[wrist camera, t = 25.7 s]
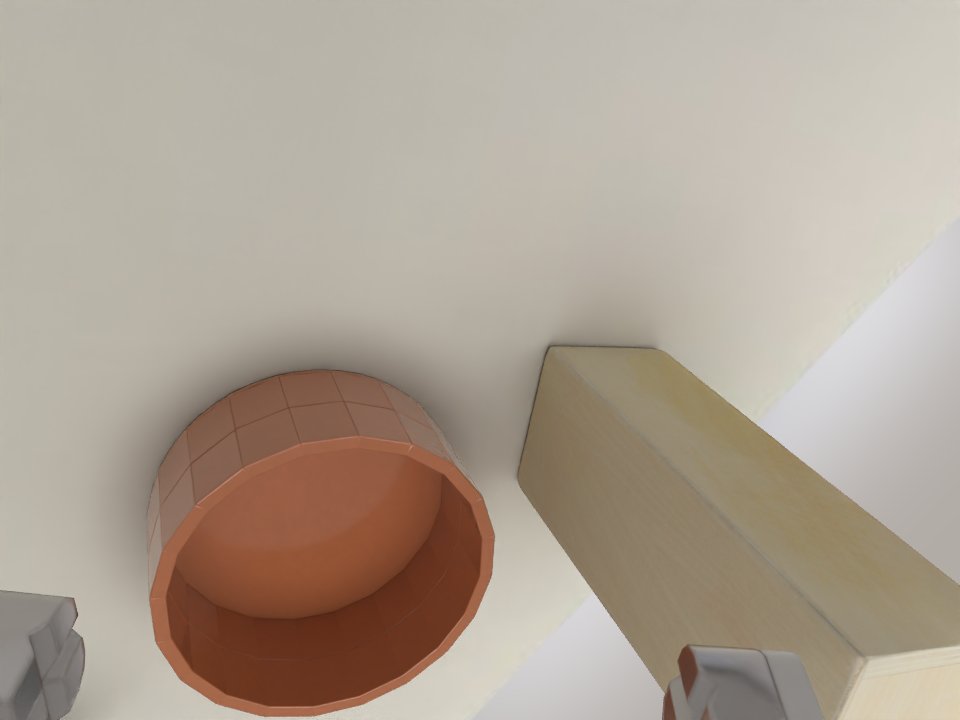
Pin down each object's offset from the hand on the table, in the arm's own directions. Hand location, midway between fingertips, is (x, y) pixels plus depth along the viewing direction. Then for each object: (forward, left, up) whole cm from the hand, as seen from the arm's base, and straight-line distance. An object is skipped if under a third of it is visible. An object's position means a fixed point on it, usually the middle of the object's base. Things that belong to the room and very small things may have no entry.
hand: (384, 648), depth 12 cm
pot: (+2, +15, -25) cm, 30 cm away
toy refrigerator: (-13, +17, -25) cm, 33 cm away
